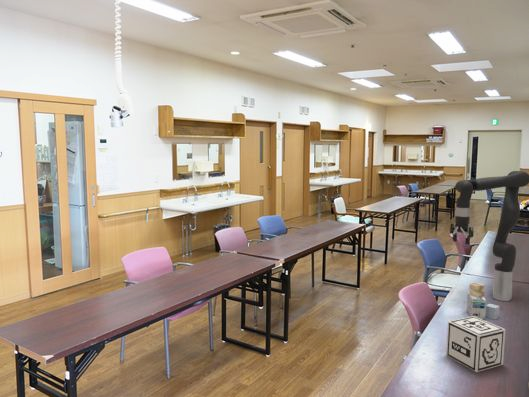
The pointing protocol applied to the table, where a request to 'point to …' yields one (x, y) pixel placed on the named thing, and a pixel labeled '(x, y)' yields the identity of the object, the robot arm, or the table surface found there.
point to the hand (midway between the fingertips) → (460, 242)
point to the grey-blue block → (492, 311)
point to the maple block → (476, 290)
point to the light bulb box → (476, 306)
